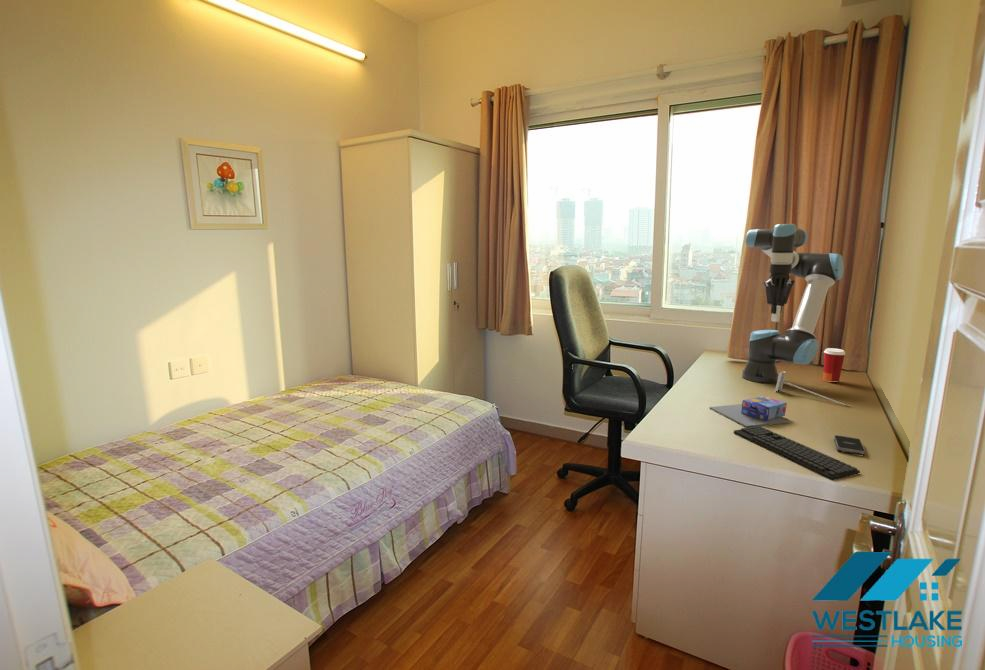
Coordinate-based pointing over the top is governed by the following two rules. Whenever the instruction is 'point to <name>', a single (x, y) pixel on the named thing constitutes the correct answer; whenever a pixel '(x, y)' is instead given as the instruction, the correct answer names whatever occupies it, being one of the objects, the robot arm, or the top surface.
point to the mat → (744, 416)
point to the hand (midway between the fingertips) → (775, 321)
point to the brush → (781, 381)
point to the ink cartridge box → (764, 408)
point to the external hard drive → (849, 445)
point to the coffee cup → (833, 364)
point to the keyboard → (797, 453)
